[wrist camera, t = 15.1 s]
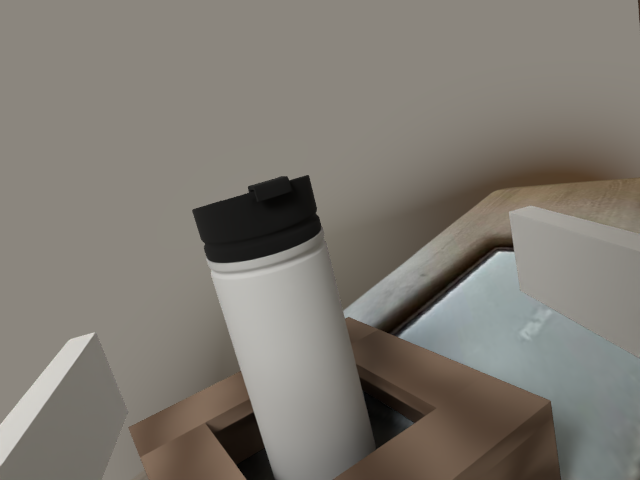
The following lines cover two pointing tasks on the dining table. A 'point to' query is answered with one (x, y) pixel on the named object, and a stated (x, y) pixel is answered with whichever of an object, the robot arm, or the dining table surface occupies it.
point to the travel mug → (288, 328)
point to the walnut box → (394, 391)
